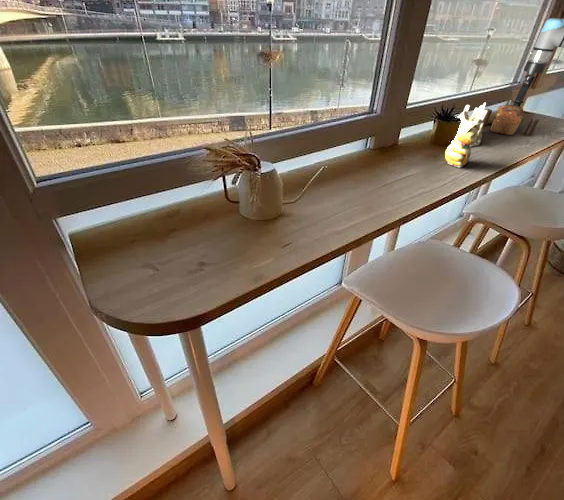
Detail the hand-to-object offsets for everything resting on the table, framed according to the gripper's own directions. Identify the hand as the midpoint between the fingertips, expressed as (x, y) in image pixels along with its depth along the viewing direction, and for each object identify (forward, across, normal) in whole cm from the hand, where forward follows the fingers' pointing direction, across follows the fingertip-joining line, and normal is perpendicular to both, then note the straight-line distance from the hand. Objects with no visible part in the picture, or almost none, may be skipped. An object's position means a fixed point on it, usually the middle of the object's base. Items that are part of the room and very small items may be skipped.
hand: (511, 116), depth 157 cm
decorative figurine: (+2, +71, -5) cm, 71 cm away
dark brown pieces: (+3, +13, +1) cm, 13 cm away
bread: (+3, +12, 0) cm, 12 cm away
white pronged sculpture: (+3, +42, -11) cm, 44 cm away
